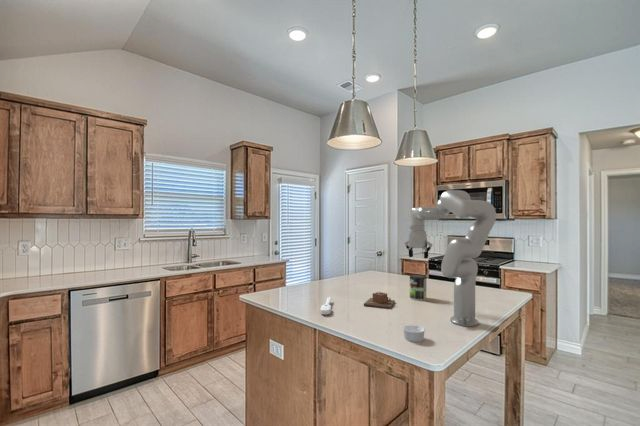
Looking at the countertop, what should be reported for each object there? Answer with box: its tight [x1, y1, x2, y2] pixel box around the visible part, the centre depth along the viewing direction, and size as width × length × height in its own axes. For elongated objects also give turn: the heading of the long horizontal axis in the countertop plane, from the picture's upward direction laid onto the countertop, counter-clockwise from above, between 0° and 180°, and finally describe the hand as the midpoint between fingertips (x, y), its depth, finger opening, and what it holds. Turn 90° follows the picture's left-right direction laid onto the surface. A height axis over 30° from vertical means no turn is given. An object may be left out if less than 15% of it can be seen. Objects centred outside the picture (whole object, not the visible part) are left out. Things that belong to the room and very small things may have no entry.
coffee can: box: [409, 273, 427, 301], centre depth 201 cm, size 10×10×14 cm
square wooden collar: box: [372, 291, 389, 304], centre depth 189 cm, size 10×6×5 cm, turn 132°
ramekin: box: [402, 324, 426, 343], centre depth 135 cm, size 9×9×4 cm
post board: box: [363, 291, 396, 310], centre depth 187 cm, size 15×15×7 cm
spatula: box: [319, 296, 333, 316], centre depth 179 cm, size 28×6×3 cm, turn 173°
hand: (418, 257), depth 188 cm, fingers open, 9 cm apart
